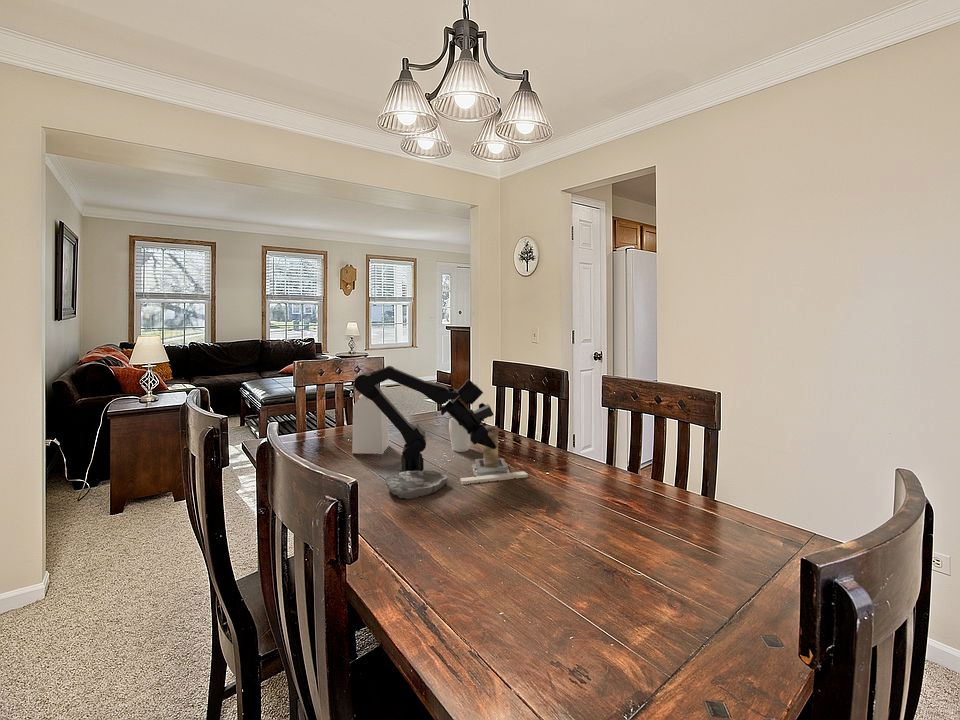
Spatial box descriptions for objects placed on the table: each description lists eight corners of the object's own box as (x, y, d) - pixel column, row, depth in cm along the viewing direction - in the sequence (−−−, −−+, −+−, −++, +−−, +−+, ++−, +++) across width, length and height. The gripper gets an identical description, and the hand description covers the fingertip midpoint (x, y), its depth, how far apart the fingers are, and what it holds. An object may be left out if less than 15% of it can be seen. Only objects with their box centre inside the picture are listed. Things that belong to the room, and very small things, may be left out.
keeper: (474, 476, 160) (474, 468, 160) (472, 465, 171) (472, 458, 171) (510, 475, 161) (510, 467, 161) (506, 465, 172) (506, 457, 172)
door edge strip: (462, 484, 153) (462, 481, 153) (459, 481, 156) (459, 478, 156) (527, 477, 159) (527, 474, 159) (524, 474, 162) (524, 471, 162)
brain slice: (417, 475, 163) (417, 466, 162) (455, 486, 152) (455, 477, 152) (370, 492, 147) (369, 482, 147) (408, 506, 137) (408, 496, 136)
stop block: (484, 467, 163) (484, 429, 162) (483, 463, 168) (483, 425, 166) (498, 467, 164) (498, 428, 162) (496, 462, 168) (496, 425, 167)
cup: (462, 454, 185) (462, 423, 183) (444, 450, 190) (444, 419, 189) (476, 448, 192) (476, 418, 190) (459, 445, 197) (459, 415, 196)
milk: (382, 454, 184) (381, 386, 181) (352, 454, 184) (350, 386, 182) (389, 446, 196) (388, 381, 193) (360, 446, 196) (359, 381, 194)
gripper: (481, 402, 154) (515, 436, 156) (477, 392, 172) (507, 422, 174) (456, 427, 154) (491, 460, 156) (454, 414, 172) (485, 444, 174)
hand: (494, 446), depth 165 cm, fingers closed on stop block, 4 cm apart
